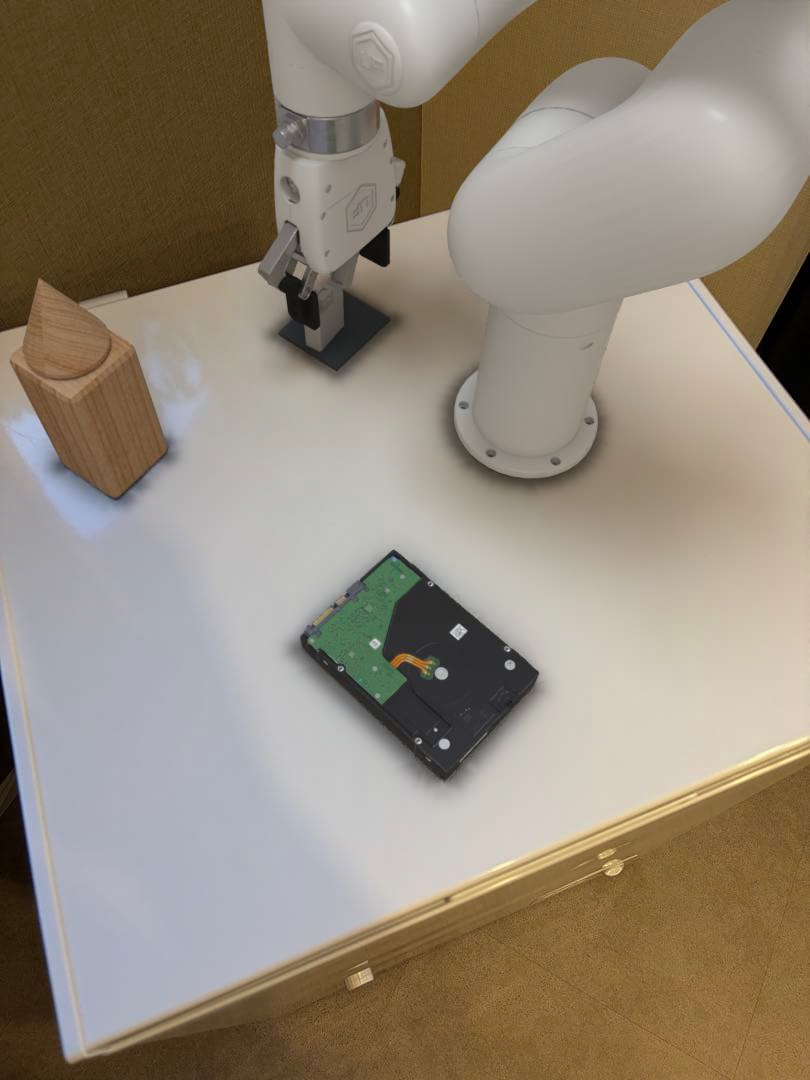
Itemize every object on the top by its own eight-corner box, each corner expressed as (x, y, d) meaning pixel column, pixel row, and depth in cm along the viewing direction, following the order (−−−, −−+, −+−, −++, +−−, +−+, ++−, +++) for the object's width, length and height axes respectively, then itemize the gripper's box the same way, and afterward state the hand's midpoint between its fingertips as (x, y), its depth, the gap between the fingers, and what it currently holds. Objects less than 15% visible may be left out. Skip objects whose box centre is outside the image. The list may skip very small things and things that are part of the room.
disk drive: (536, 684, 66) (391, 562, 71) (543, 670, 64) (392, 545, 69) (444, 785, 62) (297, 649, 67) (448, 775, 60) (295, 634, 64)
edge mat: (333, 286, 86) (333, 283, 86) (390, 320, 84) (390, 317, 84) (278, 334, 83) (278, 331, 82) (336, 371, 81) (336, 368, 80)
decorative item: (115, 413, 77) (42, 229, 60) (172, 450, 76) (114, 271, 58) (58, 463, 75) (-35, 285, 57) (116, 503, 73) (37, 332, 56)
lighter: (320, 352, 81) (316, 286, 74) (304, 344, 82) (298, 278, 75) (362, 304, 84) (361, 237, 77) (346, 297, 85) (344, 230, 78)
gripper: (288, 193, 59) (309, 368, 74) (440, 74, 66) (432, 254, 81) (206, 150, 62) (242, 327, 76) (362, 38, 69) (367, 220, 83)
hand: (340, 289), depth 79 cm, fingers open, 9 cm apart
